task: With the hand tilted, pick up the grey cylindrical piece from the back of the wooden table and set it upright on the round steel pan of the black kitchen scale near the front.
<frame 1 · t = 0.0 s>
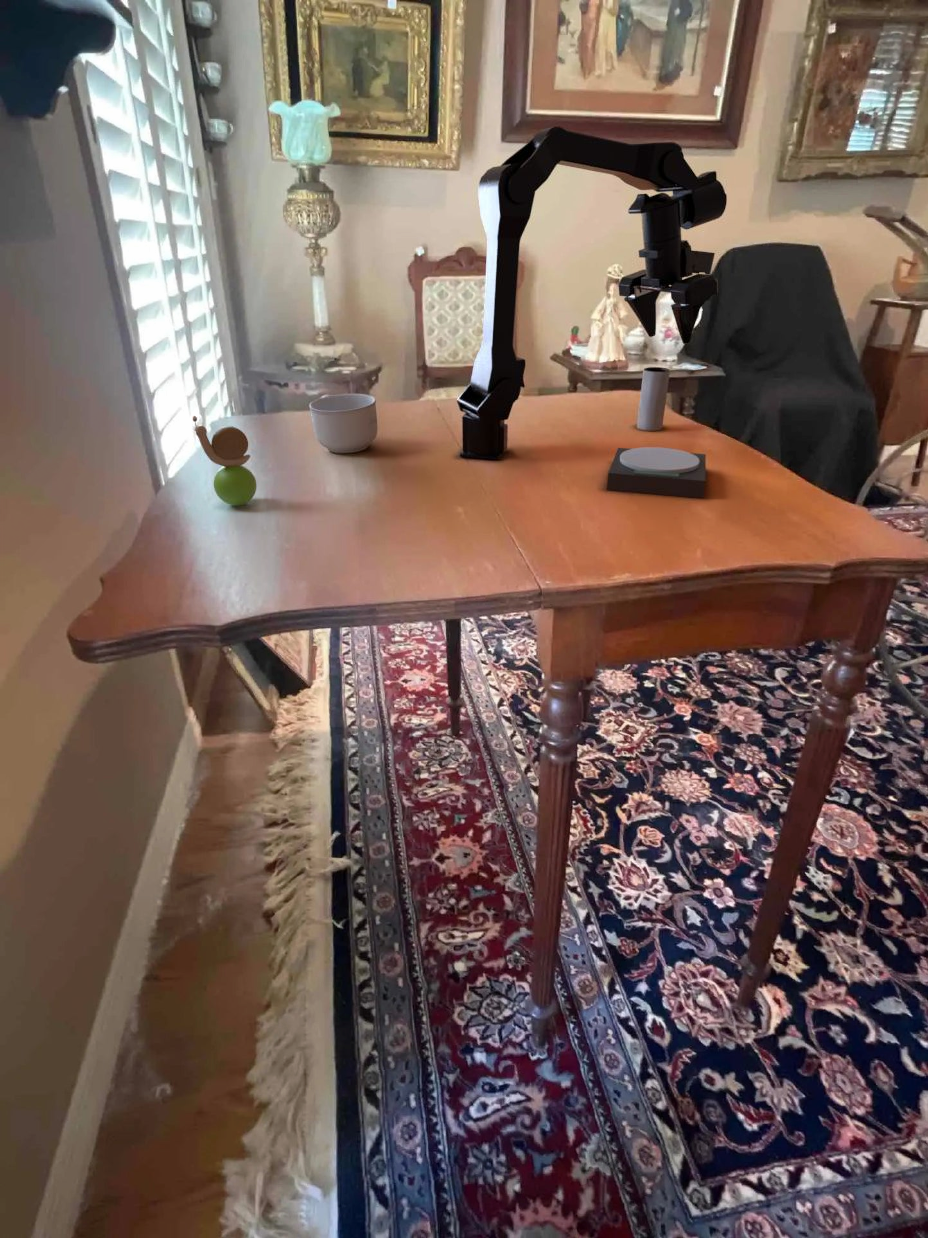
hand: (668, 339, 117), 15 cm above the table, tool pointing down, fingers open, 9 cm apart
grey cylindrical piece: (649, 429, 127), on the table
snail figurine: (235, 505, 93), on the table
scale: (656, 479, 101), on the table
teacup: (344, 447, 118), on the table
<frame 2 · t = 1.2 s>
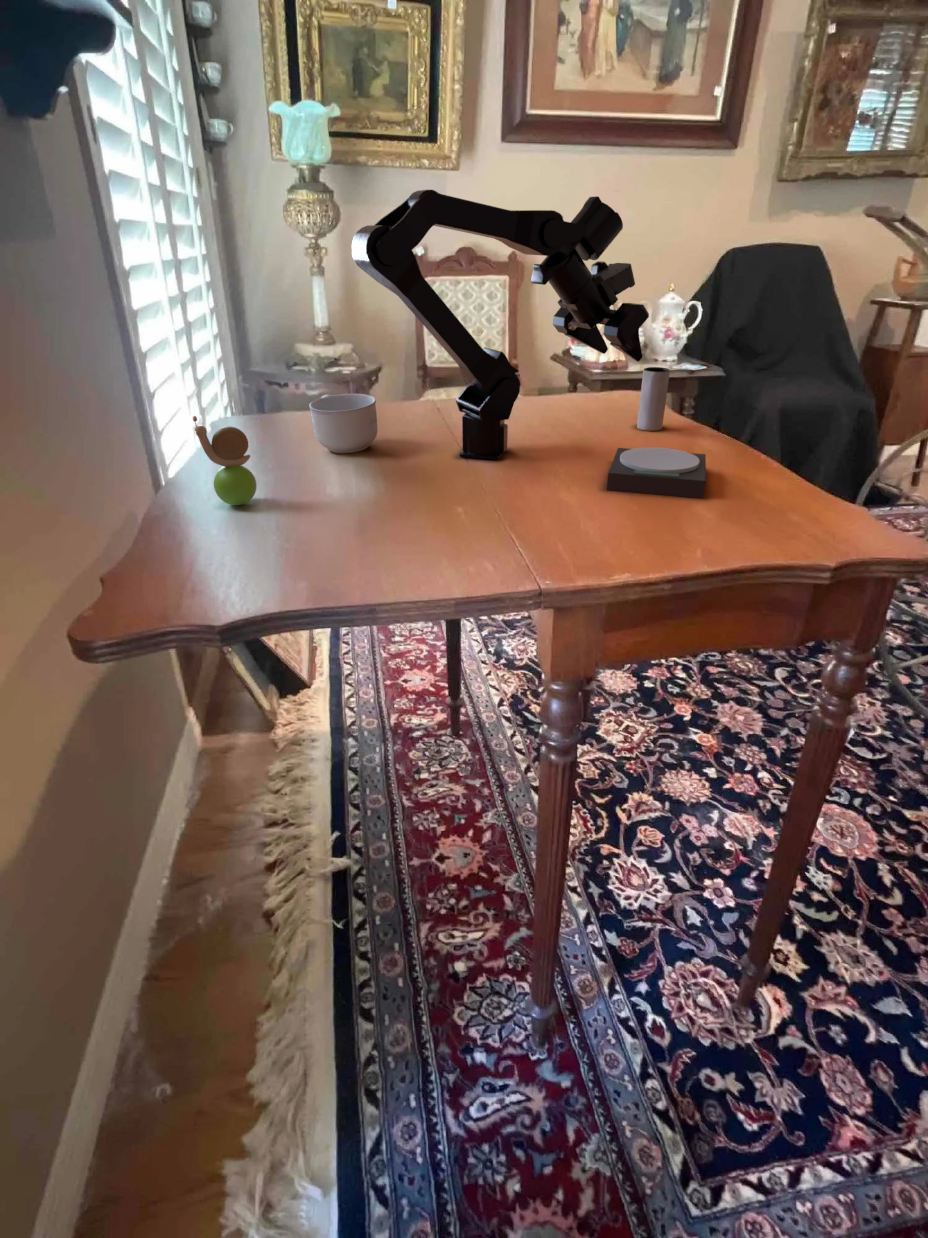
hand: (622, 355, 117), 13 cm above the table, tool tilted 45°, fingers open, 9 cm apart
nothing on the table moved.
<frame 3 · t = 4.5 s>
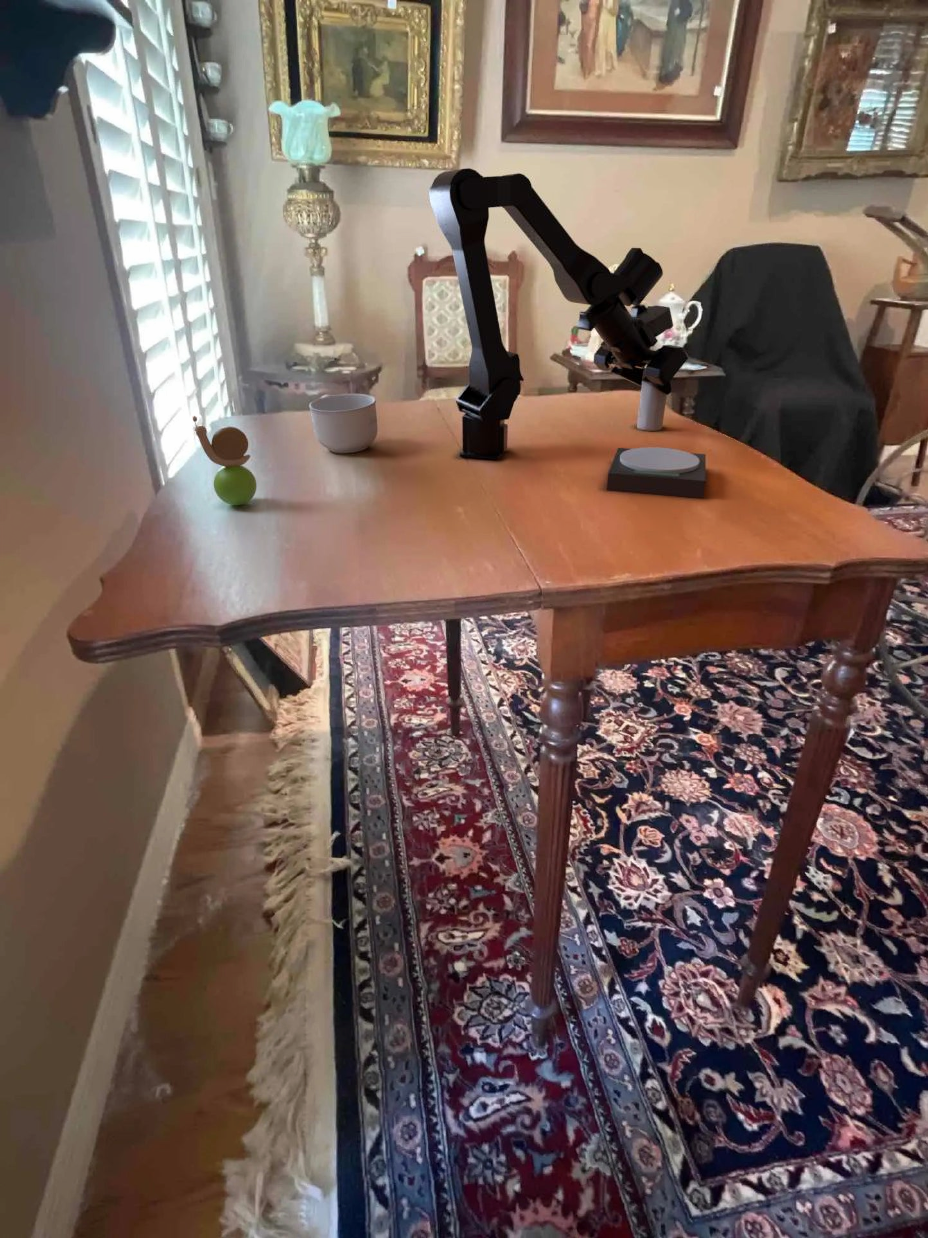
hand: (660, 390, 124), 7 cm above the table, tool tilted 45°, fingers closed on grey cylindrical piece, 4 cm apart
grey cylindrical piece: (649, 429, 127), on the table, touching gripper
everything else where it was.
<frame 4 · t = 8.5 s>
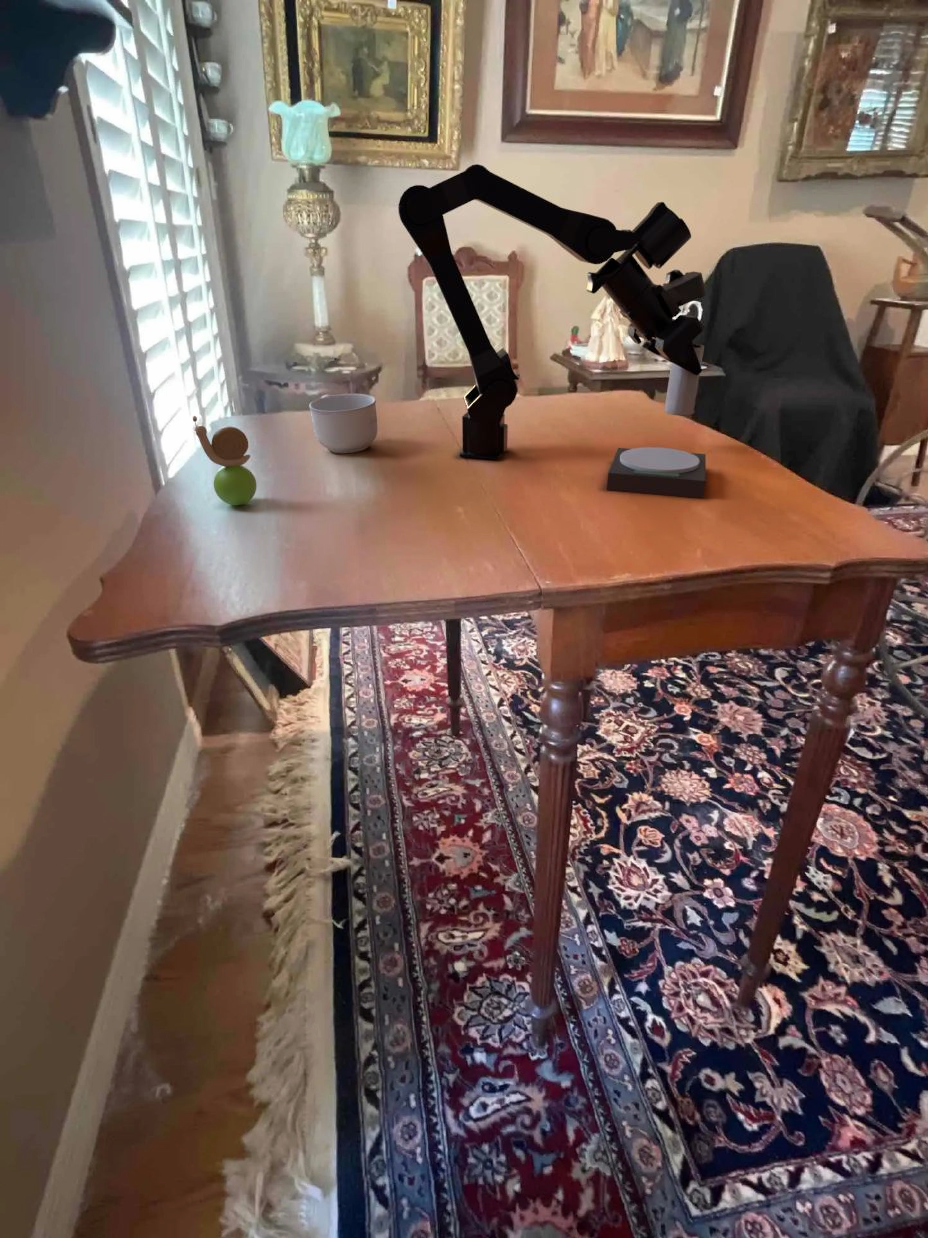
hand: (693, 370, 109), 12 cm above the table, tool tilted 45°, fingers closed on grey cylindrical piece, 4 cm apart
grey cylindrical piece: (678, 413, 112), point 6 cm above the table, touching gripper
everything else where it was.
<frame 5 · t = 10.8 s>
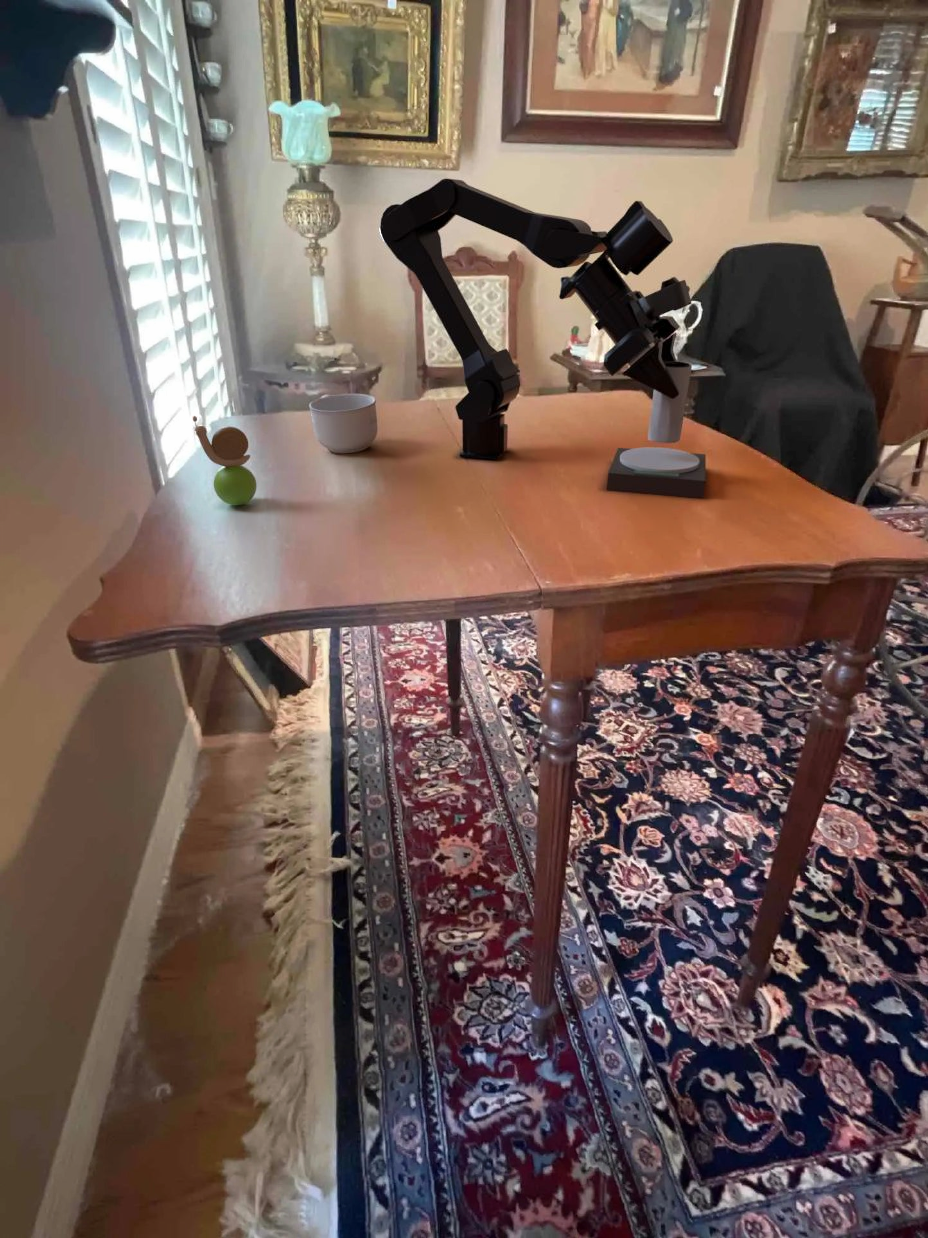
hand: (680, 393, 95), 12 cm above the table, tool tilted 45°, fingers closed on grey cylindrical piece, 4 cm apart
grey cylindrical piece: (663, 440, 99), point 6 cm above the table, touching gripper
everything else where it was.
when the fingers open (10 cm above the table, at t = 12.6 s): grey cylindrical piece stays where it is, resting on scale.
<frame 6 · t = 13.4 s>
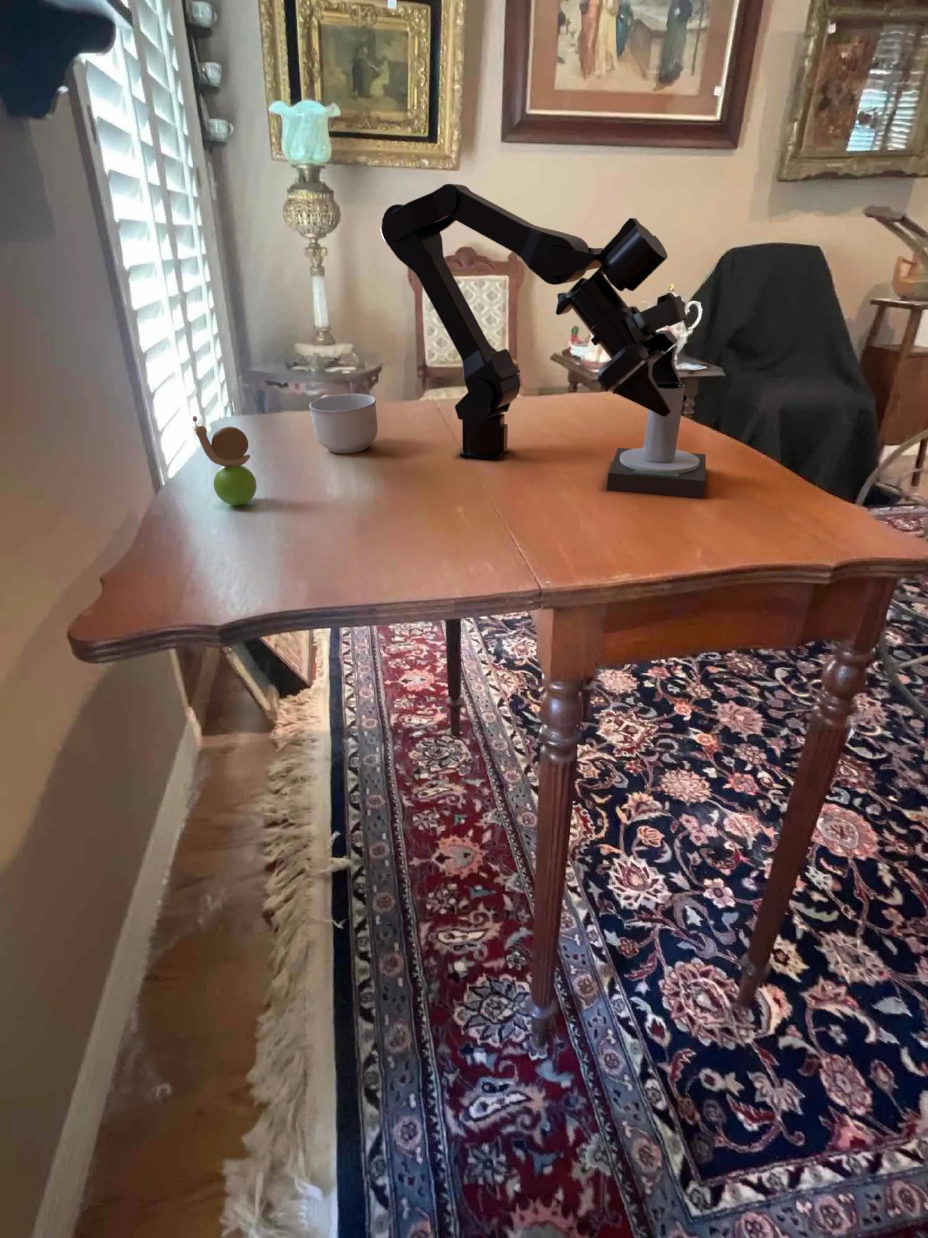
hand: (676, 407, 95), 11 cm above the table, tool tilted 45°, fingers open, 9 cm apart
grey cylindrical piece: (657, 460, 100), point 3 cm above the table, touching scale
everything else where it was.
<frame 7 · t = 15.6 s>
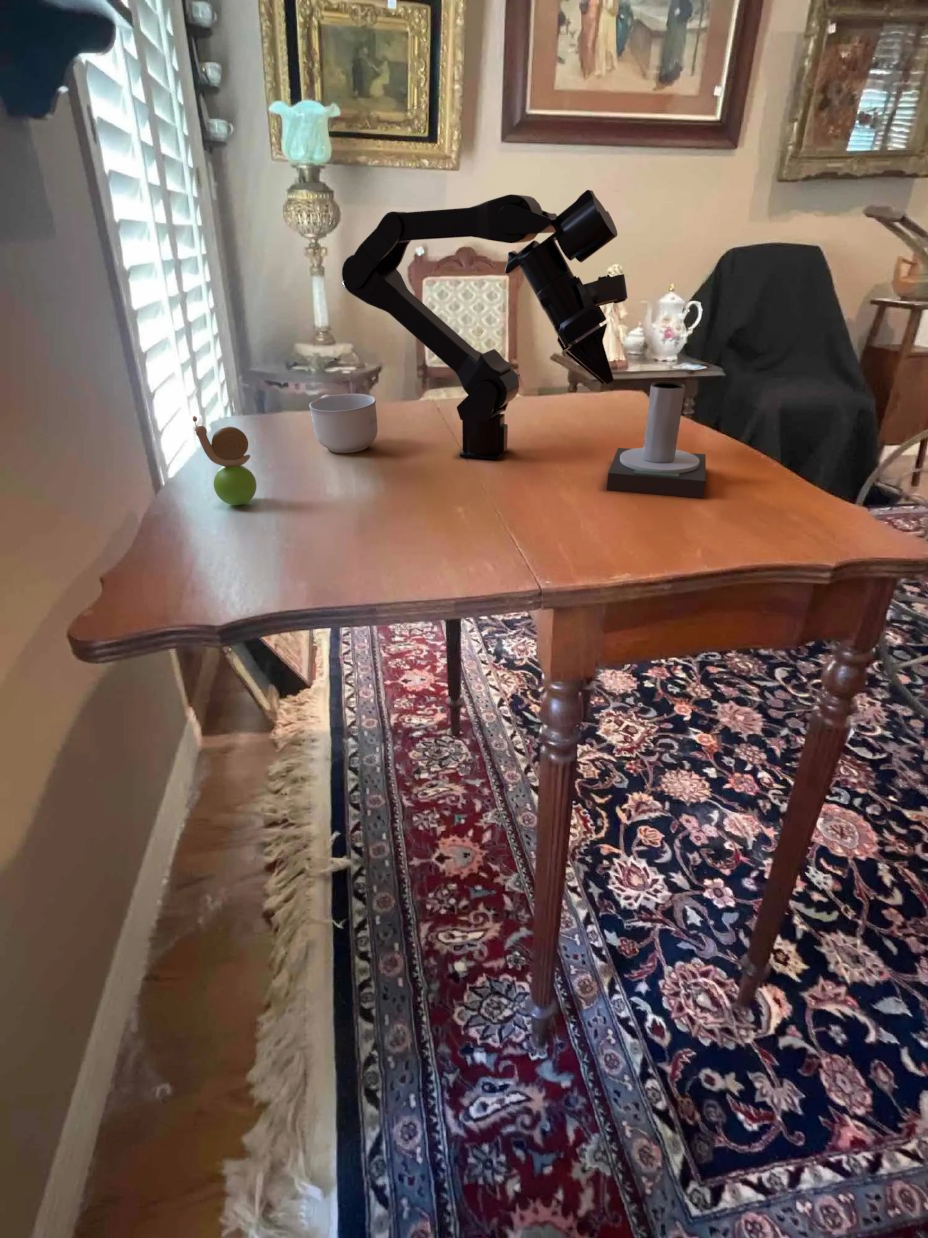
hand: (608, 382, 100), 13 cm above the table, tool tilted 35°, fingers open, 9 cm apart
nothing on the table moved.
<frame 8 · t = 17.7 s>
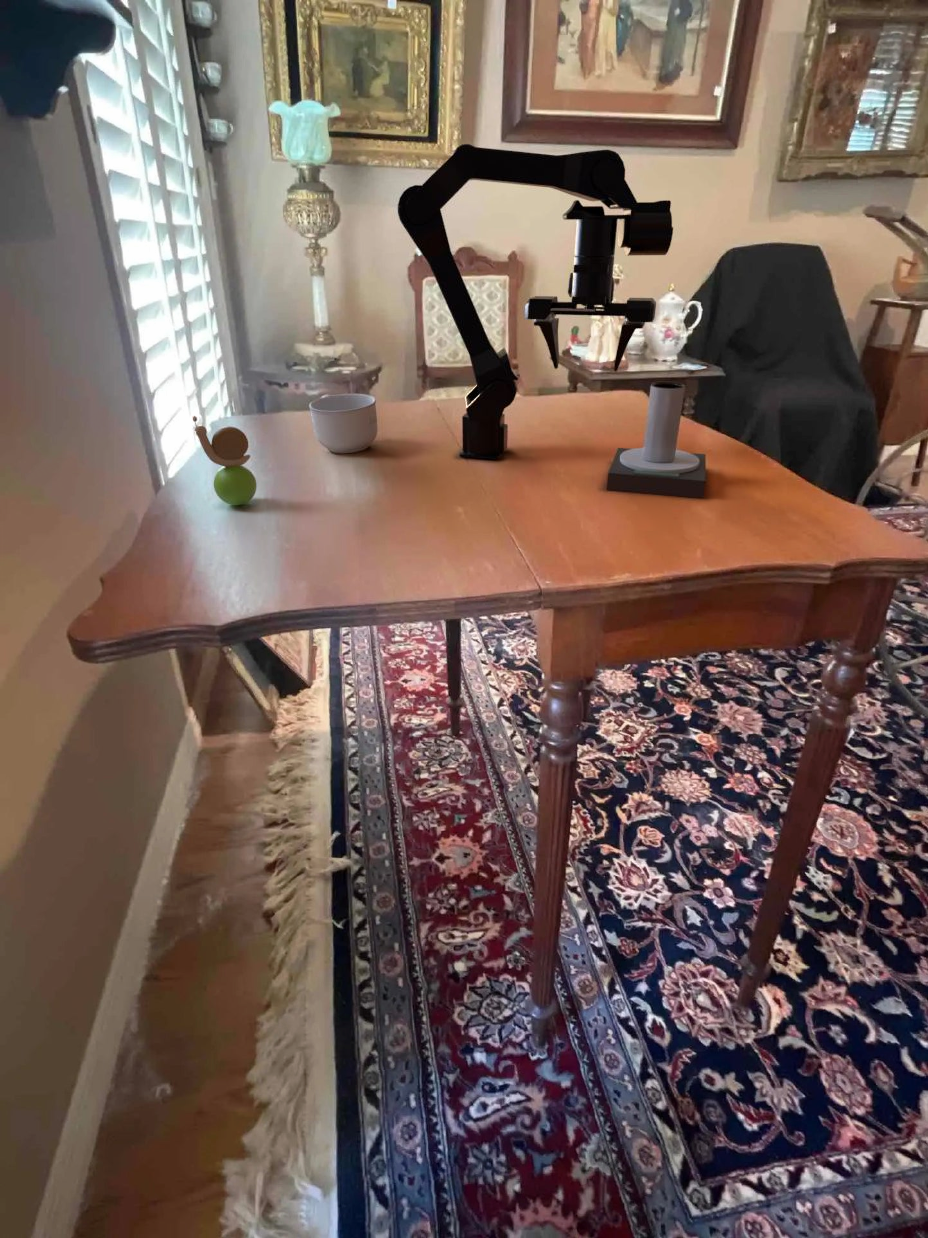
hand: (585, 369, 107), 13 cm above the table, tool pointing down, fingers open, 9 cm apart
nothing on the table moved.
at the end: grey cylindrical piece inside the target area on the scale (0.4 cm from its centre), point 2.9 cm above the scale's base; grey cylindrical piece tilted 0°; the gripper is holding nothing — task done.
